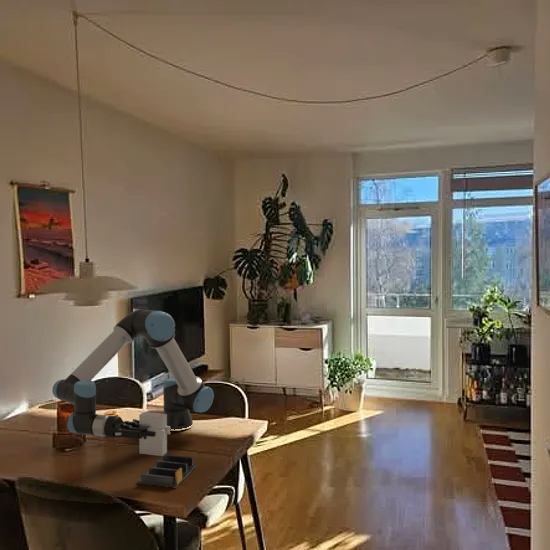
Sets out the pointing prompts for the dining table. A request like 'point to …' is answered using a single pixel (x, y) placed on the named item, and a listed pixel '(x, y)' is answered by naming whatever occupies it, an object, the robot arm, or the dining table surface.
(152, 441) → the panel
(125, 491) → the dining table surface
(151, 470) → the rack
